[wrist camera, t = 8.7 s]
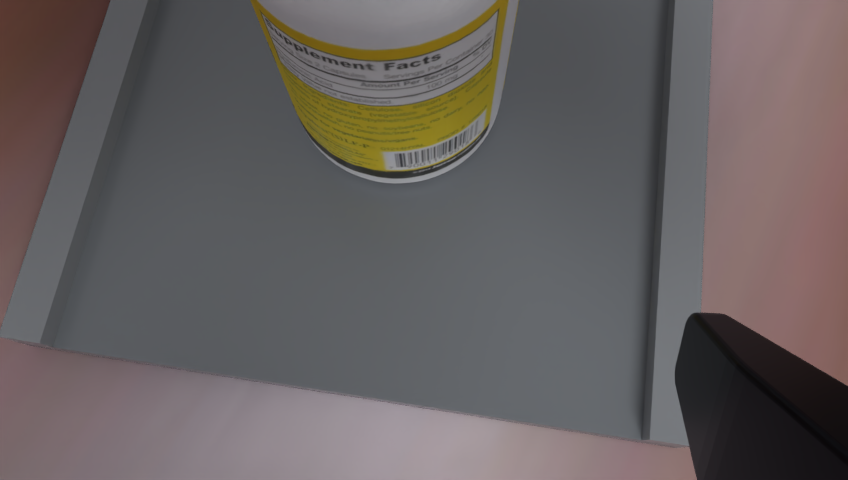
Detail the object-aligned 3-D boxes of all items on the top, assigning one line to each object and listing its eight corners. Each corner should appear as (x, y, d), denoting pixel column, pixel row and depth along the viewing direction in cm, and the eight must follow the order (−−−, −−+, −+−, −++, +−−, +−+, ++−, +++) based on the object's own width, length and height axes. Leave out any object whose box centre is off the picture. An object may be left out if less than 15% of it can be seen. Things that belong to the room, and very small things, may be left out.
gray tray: (673, 448, 17) (695, 447, 15) (30, 345, 18) (-3, 336, 16) (700, -93, 21) (717, -130, 20) (190, -154, 22) (175, -193, 21)
